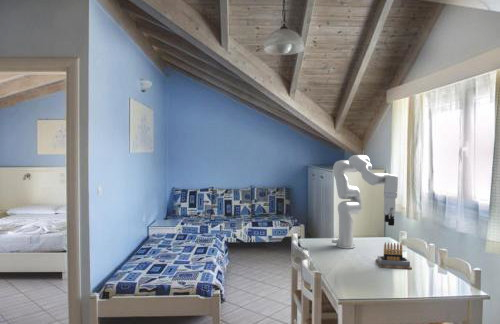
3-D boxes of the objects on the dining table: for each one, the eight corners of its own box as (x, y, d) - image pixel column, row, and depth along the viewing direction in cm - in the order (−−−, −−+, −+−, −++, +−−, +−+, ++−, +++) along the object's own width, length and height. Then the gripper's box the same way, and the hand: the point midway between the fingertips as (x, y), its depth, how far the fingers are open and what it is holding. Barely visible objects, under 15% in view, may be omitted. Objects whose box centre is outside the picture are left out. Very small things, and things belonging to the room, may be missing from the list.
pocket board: (380, 267, 209) (380, 261, 209) (375, 260, 223) (375, 254, 223) (411, 269, 206) (412, 263, 206) (405, 262, 220) (405, 256, 220)
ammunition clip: (383, 262, 215) (384, 242, 214) (382, 261, 216) (383, 241, 216) (402, 263, 213) (403, 243, 213) (401, 262, 215) (402, 242, 215)
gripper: (381, 193, 228) (379, 220, 229) (386, 197, 211) (385, 226, 212) (393, 193, 227) (392, 221, 228) (400, 197, 210) (399, 227, 211)
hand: (389, 223), depth 220 cm, fingers open, 9 cm apart
